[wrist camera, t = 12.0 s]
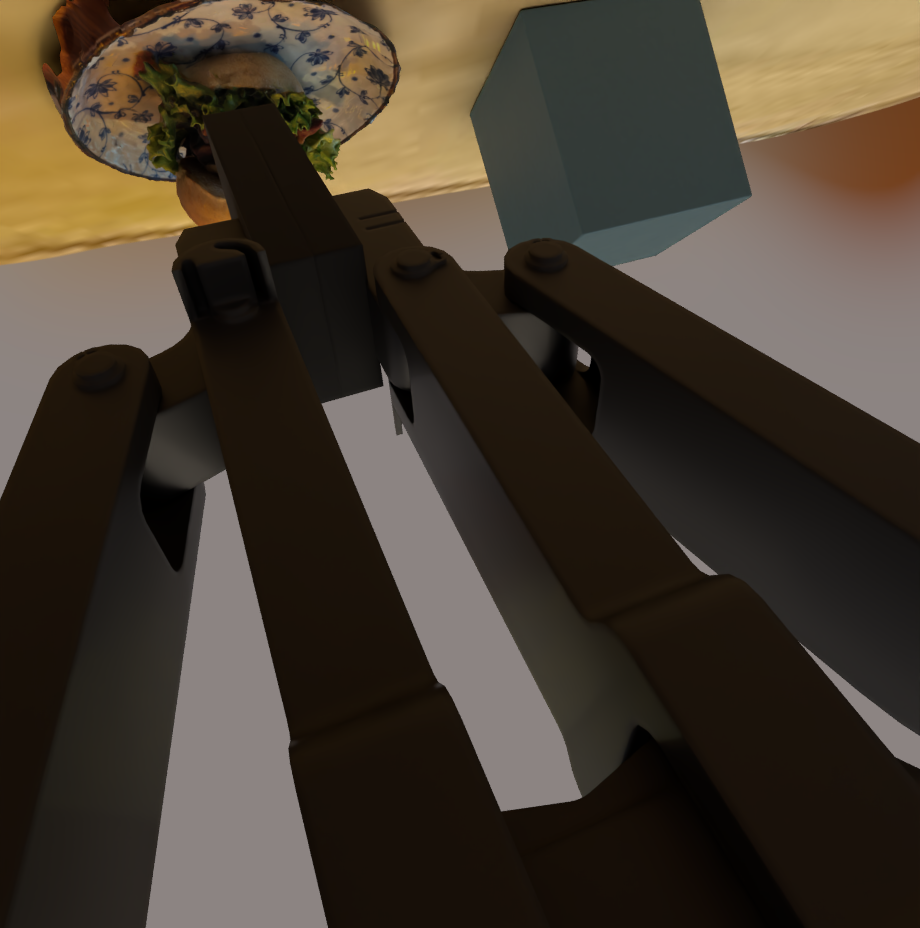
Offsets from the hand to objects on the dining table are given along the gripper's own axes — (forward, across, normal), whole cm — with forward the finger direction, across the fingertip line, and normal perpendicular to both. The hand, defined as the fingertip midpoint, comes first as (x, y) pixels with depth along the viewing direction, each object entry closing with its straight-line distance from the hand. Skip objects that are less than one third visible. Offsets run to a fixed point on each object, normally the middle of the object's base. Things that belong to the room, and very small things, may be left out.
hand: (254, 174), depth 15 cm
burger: (+13, +1, -1) cm, 13 cm away
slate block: (+15, +16, -4) cm, 23 cm away
